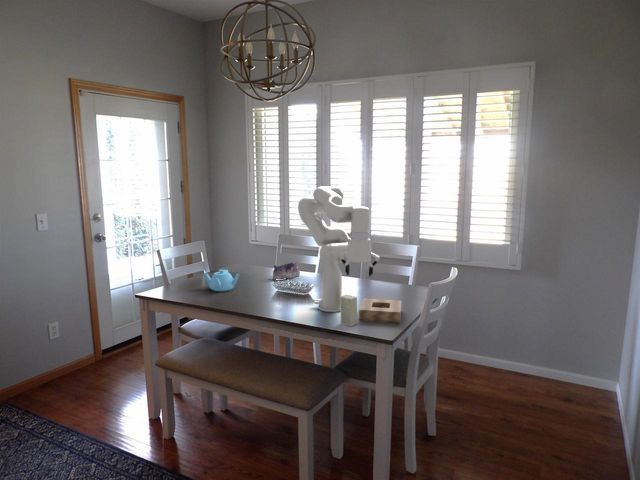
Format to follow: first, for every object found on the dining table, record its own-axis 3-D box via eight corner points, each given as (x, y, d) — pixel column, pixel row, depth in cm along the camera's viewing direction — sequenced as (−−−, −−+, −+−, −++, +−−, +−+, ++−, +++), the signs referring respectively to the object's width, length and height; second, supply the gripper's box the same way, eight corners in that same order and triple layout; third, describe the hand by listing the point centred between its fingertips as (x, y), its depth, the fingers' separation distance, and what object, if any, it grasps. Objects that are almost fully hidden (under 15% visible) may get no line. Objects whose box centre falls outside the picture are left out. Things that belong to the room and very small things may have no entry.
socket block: (359, 320, 203) (359, 309, 202) (363, 308, 220) (363, 298, 220) (400, 323, 199) (400, 312, 199) (401, 310, 217) (401, 300, 216)
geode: (283, 282, 270) (281, 266, 269) (268, 282, 277) (266, 266, 276) (303, 274, 287) (301, 259, 285) (289, 274, 293) (287, 259, 292)
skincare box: (357, 324, 198) (357, 297, 196) (351, 326, 195) (351, 299, 193) (346, 320, 202) (346, 294, 201) (339, 323, 199) (340, 296, 197)
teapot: (241, 289, 254) (240, 270, 253) (216, 294, 245) (215, 274, 243) (227, 284, 266) (227, 265, 264) (203, 288, 256) (203, 269, 255)
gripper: (338, 236, 193) (337, 275, 195) (379, 238, 188) (378, 278, 191) (341, 233, 200) (341, 272, 203) (381, 235, 196) (380, 274, 198)
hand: (359, 275), depth 197 cm, fingers open, 9 cm apart
